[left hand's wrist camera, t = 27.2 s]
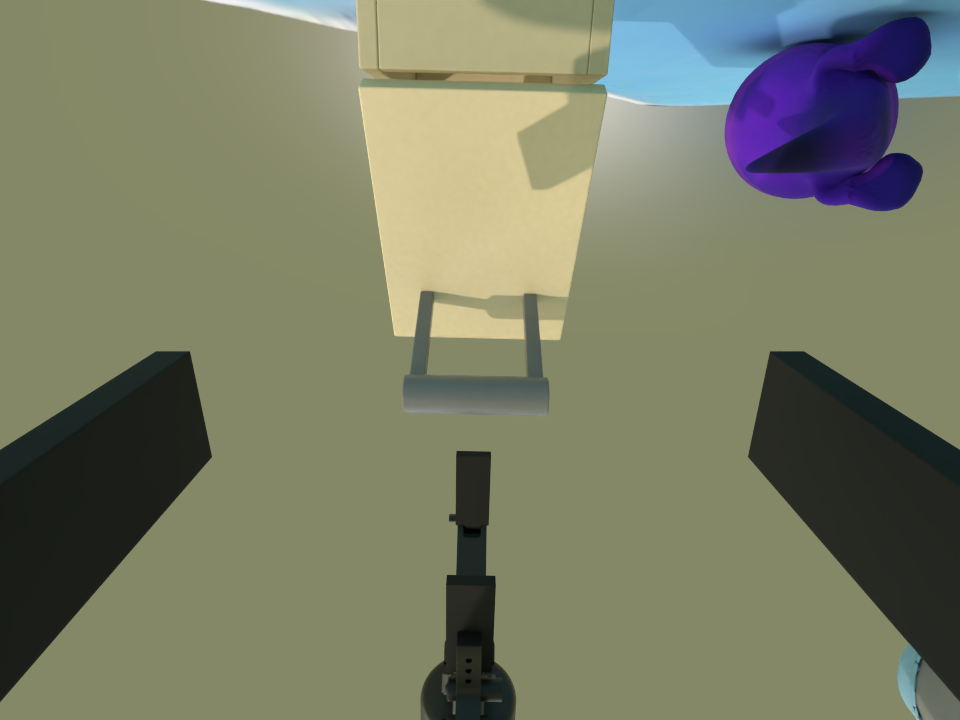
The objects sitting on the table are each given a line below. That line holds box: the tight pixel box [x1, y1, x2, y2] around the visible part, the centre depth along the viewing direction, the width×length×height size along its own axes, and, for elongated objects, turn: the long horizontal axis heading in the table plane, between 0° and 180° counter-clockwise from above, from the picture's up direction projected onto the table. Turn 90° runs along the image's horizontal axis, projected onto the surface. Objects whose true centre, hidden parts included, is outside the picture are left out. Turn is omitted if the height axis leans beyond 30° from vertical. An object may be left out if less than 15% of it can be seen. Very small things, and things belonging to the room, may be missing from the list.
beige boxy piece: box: [358, 79, 607, 416], centre depth 24 cm, size 14×10×8 cm
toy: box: [725, 17, 931, 211], centre depth 54 cm, size 16×18×27 cm
